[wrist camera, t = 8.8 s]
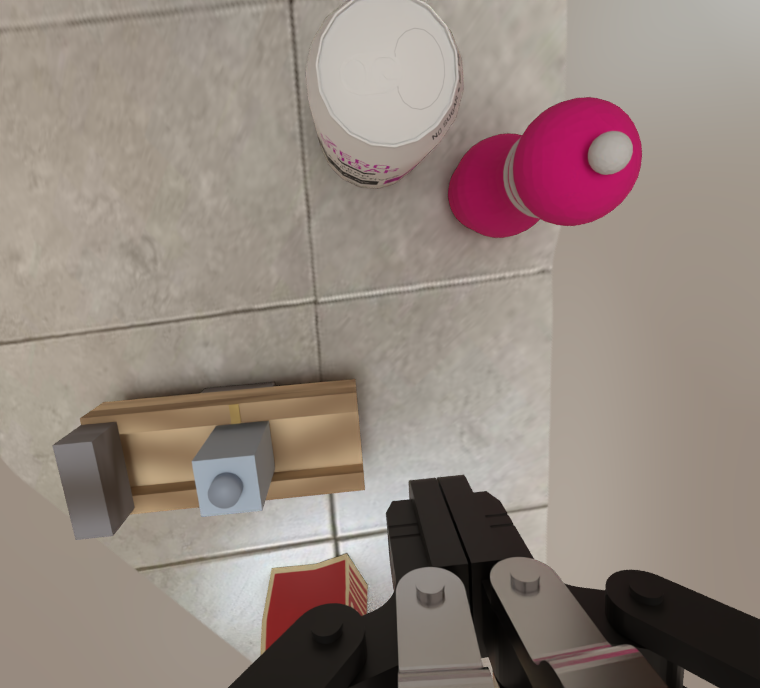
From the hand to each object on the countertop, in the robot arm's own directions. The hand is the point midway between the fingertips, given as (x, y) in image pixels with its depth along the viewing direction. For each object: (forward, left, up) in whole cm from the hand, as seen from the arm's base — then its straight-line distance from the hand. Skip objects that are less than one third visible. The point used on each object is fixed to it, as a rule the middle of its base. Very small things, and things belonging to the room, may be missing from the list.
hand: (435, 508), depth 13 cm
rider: (+8, -11, -24) cm, 27 cm away
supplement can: (-15, +1, -29) cm, 33 cm away
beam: (+8, -12, -29) cm, 32 cm away
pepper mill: (-10, +10, -29) cm, 32 cm away
